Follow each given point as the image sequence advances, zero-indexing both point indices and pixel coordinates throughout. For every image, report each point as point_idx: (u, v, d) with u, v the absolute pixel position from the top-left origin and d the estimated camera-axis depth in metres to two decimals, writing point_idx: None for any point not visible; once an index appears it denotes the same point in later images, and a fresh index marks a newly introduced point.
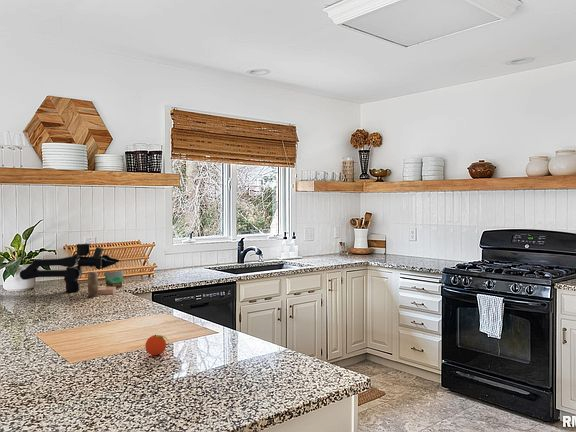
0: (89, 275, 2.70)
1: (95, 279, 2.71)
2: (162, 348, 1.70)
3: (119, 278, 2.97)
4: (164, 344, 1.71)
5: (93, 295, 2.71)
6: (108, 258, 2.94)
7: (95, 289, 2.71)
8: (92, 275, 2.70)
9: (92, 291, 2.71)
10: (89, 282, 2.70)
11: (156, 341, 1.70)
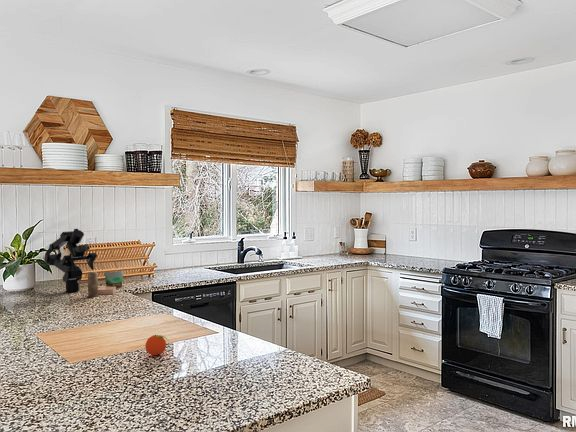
0: (89, 275, 2.70)
1: (95, 279, 2.71)
2: (162, 348, 1.70)
3: (119, 278, 2.97)
4: (164, 344, 1.71)
5: (93, 295, 2.71)
6: (90, 259, 2.83)
7: (95, 289, 2.71)
8: (92, 275, 2.70)
9: (92, 291, 2.70)
10: (89, 282, 2.70)
11: (156, 341, 1.70)
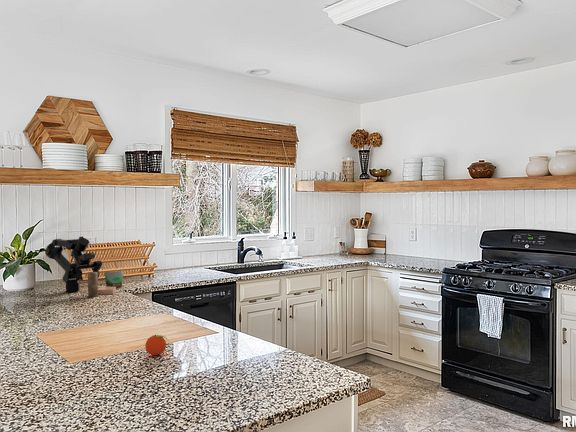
0: (89, 275, 2.70)
1: (95, 279, 2.71)
2: (162, 348, 1.70)
3: (119, 278, 2.97)
4: (164, 344, 1.71)
5: (93, 295, 2.71)
6: (95, 267, 2.80)
7: (95, 289, 2.71)
8: (92, 275, 2.70)
9: (92, 291, 2.71)
10: (89, 282, 2.70)
11: (156, 341, 1.70)
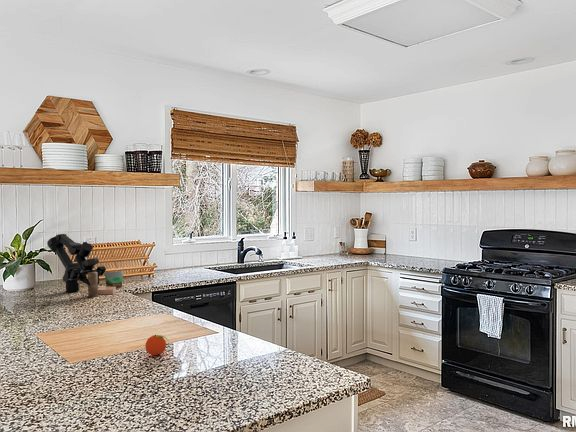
0: (89, 275, 2.70)
1: (95, 279, 2.71)
2: (162, 348, 1.70)
3: (119, 278, 2.97)
4: (164, 344, 1.71)
5: (93, 295, 2.71)
6: None
7: (95, 289, 2.71)
8: (92, 275, 2.70)
9: (92, 291, 2.70)
10: (89, 282, 2.70)
11: (156, 341, 1.70)
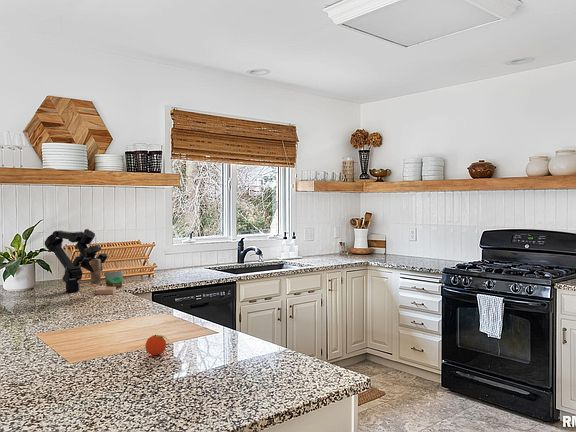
0: (92, 262, 2.72)
1: (98, 266, 2.73)
2: (162, 348, 1.70)
3: (119, 278, 2.97)
4: (164, 344, 1.71)
5: (96, 282, 2.72)
6: None
7: (98, 276, 2.73)
8: (95, 262, 2.72)
9: (95, 278, 2.72)
10: None
11: (156, 341, 1.70)
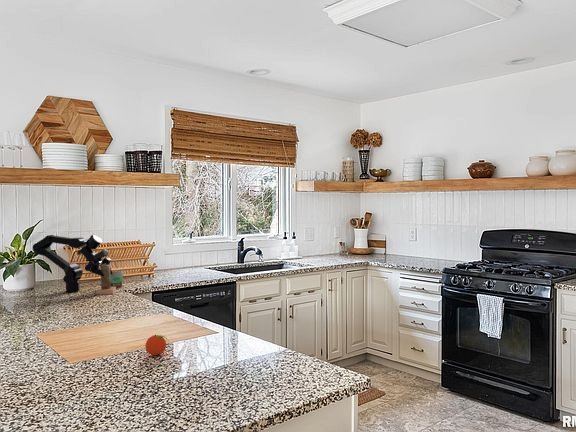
0: (104, 267, 2.80)
1: (109, 271, 2.82)
2: (162, 348, 1.70)
3: (119, 278, 2.97)
4: (164, 344, 1.71)
5: (108, 286, 2.82)
6: (106, 264, 2.87)
7: (109, 281, 2.83)
8: (107, 267, 2.81)
9: (107, 283, 2.81)
10: (104, 274, 2.80)
11: (156, 341, 1.70)
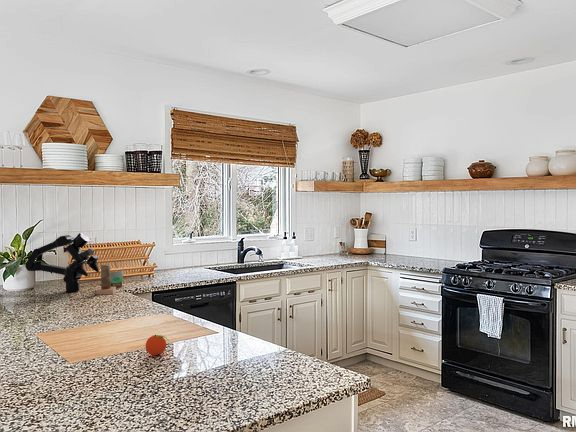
0: (104, 268, 2.80)
1: (109, 271, 2.82)
2: (162, 348, 1.70)
3: (119, 278, 2.97)
4: (164, 344, 1.71)
5: (108, 287, 2.82)
6: (93, 262, 2.89)
7: (109, 281, 2.83)
8: (107, 267, 2.81)
9: (107, 283, 2.81)
10: (104, 274, 2.80)
11: (156, 341, 1.70)
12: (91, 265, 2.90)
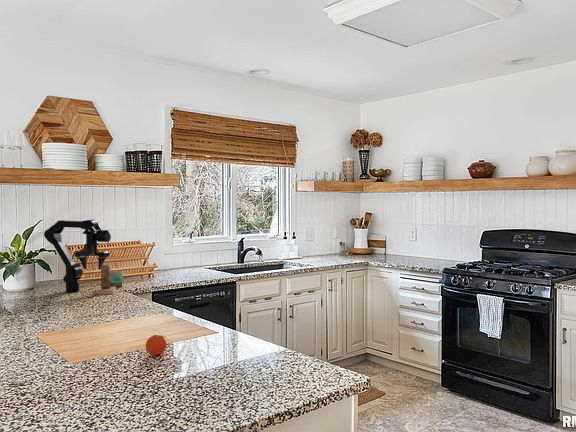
0: (104, 268, 2.80)
1: (109, 271, 2.82)
2: (162, 348, 1.70)
3: (119, 278, 2.97)
4: (164, 344, 1.71)
5: (108, 287, 2.82)
6: None
7: (109, 281, 2.83)
8: (107, 267, 2.81)
9: (107, 283, 2.81)
10: (104, 274, 2.80)
11: (156, 341, 1.70)
12: None
